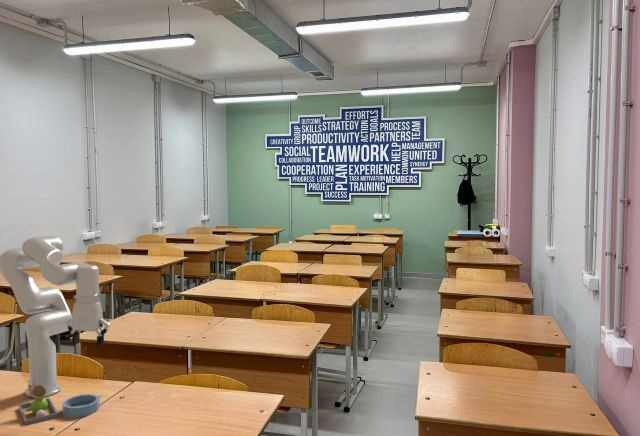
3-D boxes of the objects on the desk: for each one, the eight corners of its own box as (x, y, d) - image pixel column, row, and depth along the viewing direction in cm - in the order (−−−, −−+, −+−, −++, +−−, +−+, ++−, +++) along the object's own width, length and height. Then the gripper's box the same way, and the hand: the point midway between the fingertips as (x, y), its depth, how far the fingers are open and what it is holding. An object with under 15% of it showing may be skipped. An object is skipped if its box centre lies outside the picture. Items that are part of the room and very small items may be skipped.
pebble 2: (35, 417, 179) (34, 409, 179) (44, 415, 181) (44, 407, 181) (36, 421, 177) (36, 412, 177) (46, 418, 179) (46, 410, 179)
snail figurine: (32, 409, 186) (31, 377, 185) (50, 409, 186) (49, 377, 186) (25, 416, 181) (24, 383, 180) (43, 415, 181) (42, 383, 180)
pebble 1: (30, 407, 188) (29, 399, 188) (39, 405, 190) (39, 397, 190) (31, 410, 186) (31, 402, 186) (40, 407, 188) (40, 400, 187)
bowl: (59, 408, 187) (59, 399, 187) (94, 400, 194) (94, 391, 194) (67, 420, 178) (66, 410, 177) (103, 411, 185) (102, 402, 185)
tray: (18, 408, 187) (18, 404, 187) (49, 401, 193) (49, 397, 193) (25, 425, 174) (25, 420, 174) (58, 417, 180) (58, 412, 180)
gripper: (59, 299, 183) (60, 346, 184) (103, 302, 180) (103, 349, 182) (72, 295, 191) (73, 340, 192) (115, 298, 188) (115, 343, 189)
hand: (88, 344), depth 187 cm, fingers open, 9 cm apart
